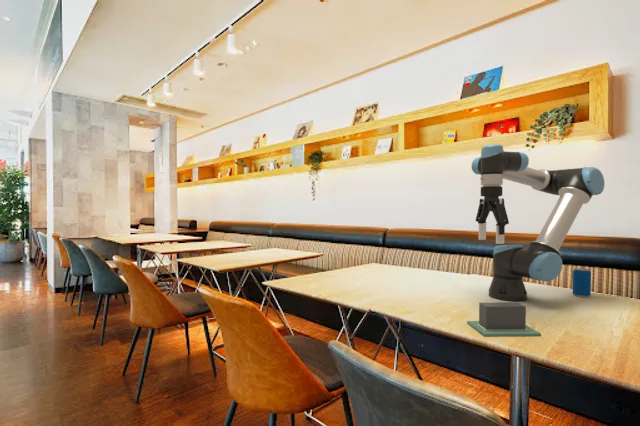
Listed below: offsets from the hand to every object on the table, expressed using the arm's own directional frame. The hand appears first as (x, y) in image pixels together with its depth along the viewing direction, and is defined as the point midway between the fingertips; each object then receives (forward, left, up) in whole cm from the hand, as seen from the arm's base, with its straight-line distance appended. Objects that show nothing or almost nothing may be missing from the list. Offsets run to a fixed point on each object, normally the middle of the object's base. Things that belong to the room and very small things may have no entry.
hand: (490, 241), depth 135 cm
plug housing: (+6, +20, -26) cm, 33 cm away
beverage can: (-52, -21, -27) cm, 62 cm away
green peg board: (+6, +20, -27) cm, 34 cm away
